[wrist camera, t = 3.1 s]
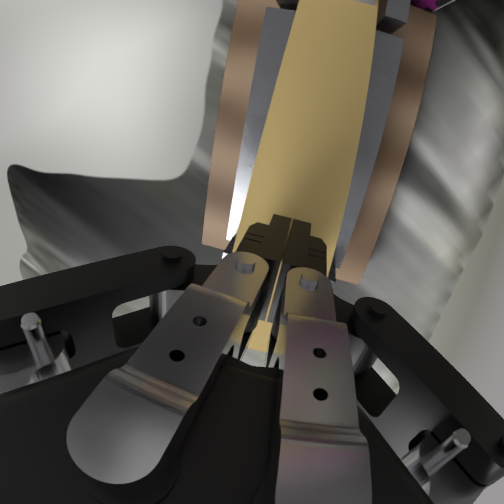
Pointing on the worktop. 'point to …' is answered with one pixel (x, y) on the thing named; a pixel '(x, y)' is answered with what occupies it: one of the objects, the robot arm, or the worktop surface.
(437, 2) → the candy bar box
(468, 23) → the worktop surface
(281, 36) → the block
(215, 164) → the walnut board
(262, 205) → the strip
